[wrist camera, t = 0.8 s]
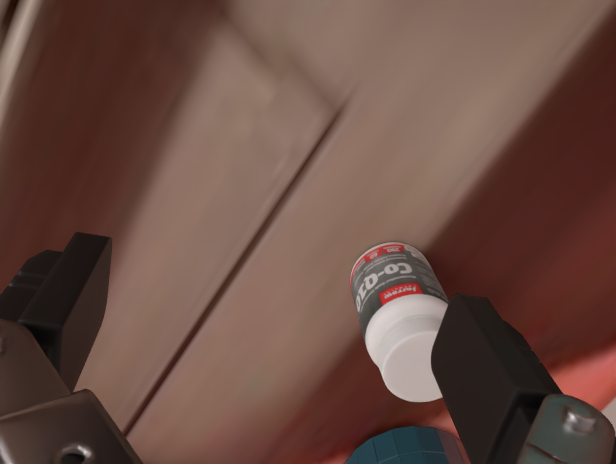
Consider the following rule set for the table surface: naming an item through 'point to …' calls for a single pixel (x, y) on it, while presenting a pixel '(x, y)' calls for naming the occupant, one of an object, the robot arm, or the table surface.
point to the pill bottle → (400, 316)
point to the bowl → (411, 448)
